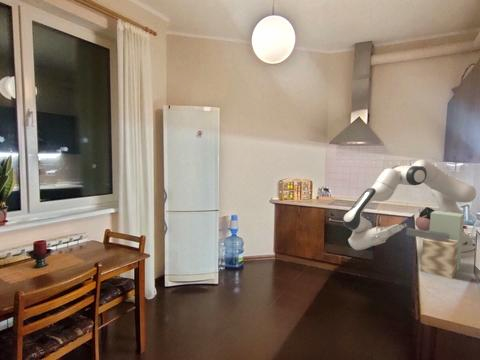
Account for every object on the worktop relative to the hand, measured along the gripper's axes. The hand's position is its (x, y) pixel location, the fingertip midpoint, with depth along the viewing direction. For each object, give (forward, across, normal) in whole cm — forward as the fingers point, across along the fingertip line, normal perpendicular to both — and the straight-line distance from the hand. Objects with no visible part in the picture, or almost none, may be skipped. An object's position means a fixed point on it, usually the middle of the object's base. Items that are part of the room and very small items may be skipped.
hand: (403, 226), depth 150 cm
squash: (-19, +116, +10) cm, 118 cm away
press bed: (+4, 0, +24) cm, 24 cm away
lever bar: (+6, 0, +8) cm, 10 cm away
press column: (+4, +12, +24) cm, 27 cm away
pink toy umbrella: (-17, +88, +12) cm, 91 cm away
